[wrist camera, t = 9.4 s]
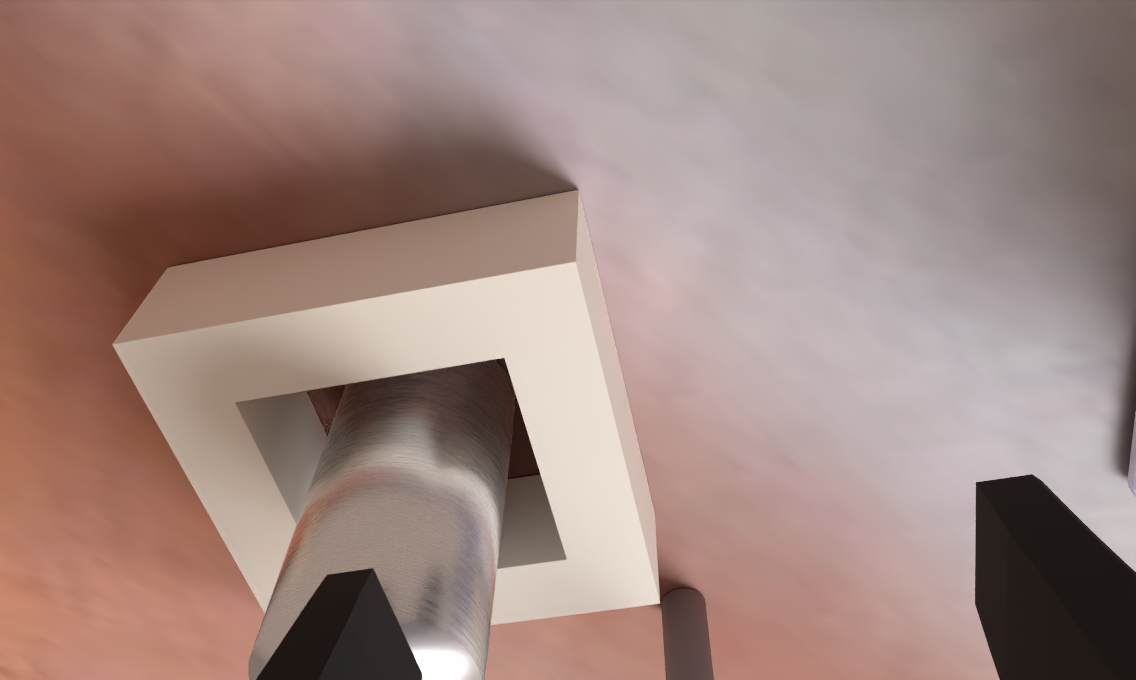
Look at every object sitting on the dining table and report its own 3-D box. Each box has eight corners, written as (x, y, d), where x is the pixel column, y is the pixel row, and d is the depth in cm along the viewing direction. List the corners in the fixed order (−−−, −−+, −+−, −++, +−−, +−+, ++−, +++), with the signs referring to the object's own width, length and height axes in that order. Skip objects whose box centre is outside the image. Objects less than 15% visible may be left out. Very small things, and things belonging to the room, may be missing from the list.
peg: (536, 446, 24) (512, 737, 18) (384, 477, 25) (307, 768, 19) (484, 313, 22) (434, 587, 16) (319, 351, 23) (206, 628, 16)
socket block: (579, 189, 21) (575, 261, 18) (654, 512, 26) (660, 603, 23) (167, 267, 22) (111, 344, 19) (315, 559, 27) (286, 651, 24)
